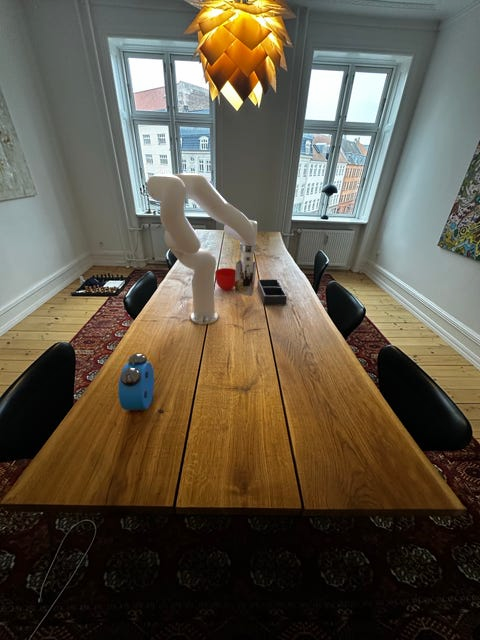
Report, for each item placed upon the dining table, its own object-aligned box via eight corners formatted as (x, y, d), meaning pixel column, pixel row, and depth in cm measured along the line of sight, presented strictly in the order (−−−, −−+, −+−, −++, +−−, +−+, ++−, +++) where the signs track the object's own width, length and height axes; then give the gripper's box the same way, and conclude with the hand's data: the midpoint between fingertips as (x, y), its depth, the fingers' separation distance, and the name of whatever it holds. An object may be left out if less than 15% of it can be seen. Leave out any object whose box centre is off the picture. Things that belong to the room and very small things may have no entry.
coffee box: (254, 291, 134) (256, 261, 126) (251, 296, 129) (254, 265, 121) (237, 289, 136) (239, 259, 128) (234, 293, 131) (235, 262, 123)
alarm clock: (137, 385, 81) (128, 347, 73) (157, 385, 81) (150, 347, 74) (124, 421, 70) (112, 380, 62) (147, 420, 70) (138, 379, 63)
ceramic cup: (228, 297, 139) (228, 280, 133) (211, 287, 150) (210, 270, 145) (246, 291, 146) (247, 275, 141) (228, 282, 157) (228, 266, 152)
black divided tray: (285, 304, 134) (287, 295, 131) (263, 305, 132) (264, 296, 130) (276, 287, 153) (277, 279, 150) (257, 287, 152) (257, 279, 149)
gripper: (258, 253, 114) (254, 289, 123) (252, 244, 129) (250, 277, 138) (241, 252, 113) (239, 289, 122) (238, 243, 128) (236, 276, 137)
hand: (245, 282), depth 130 cm, fingers closed on coffee box, 8 cm apart
